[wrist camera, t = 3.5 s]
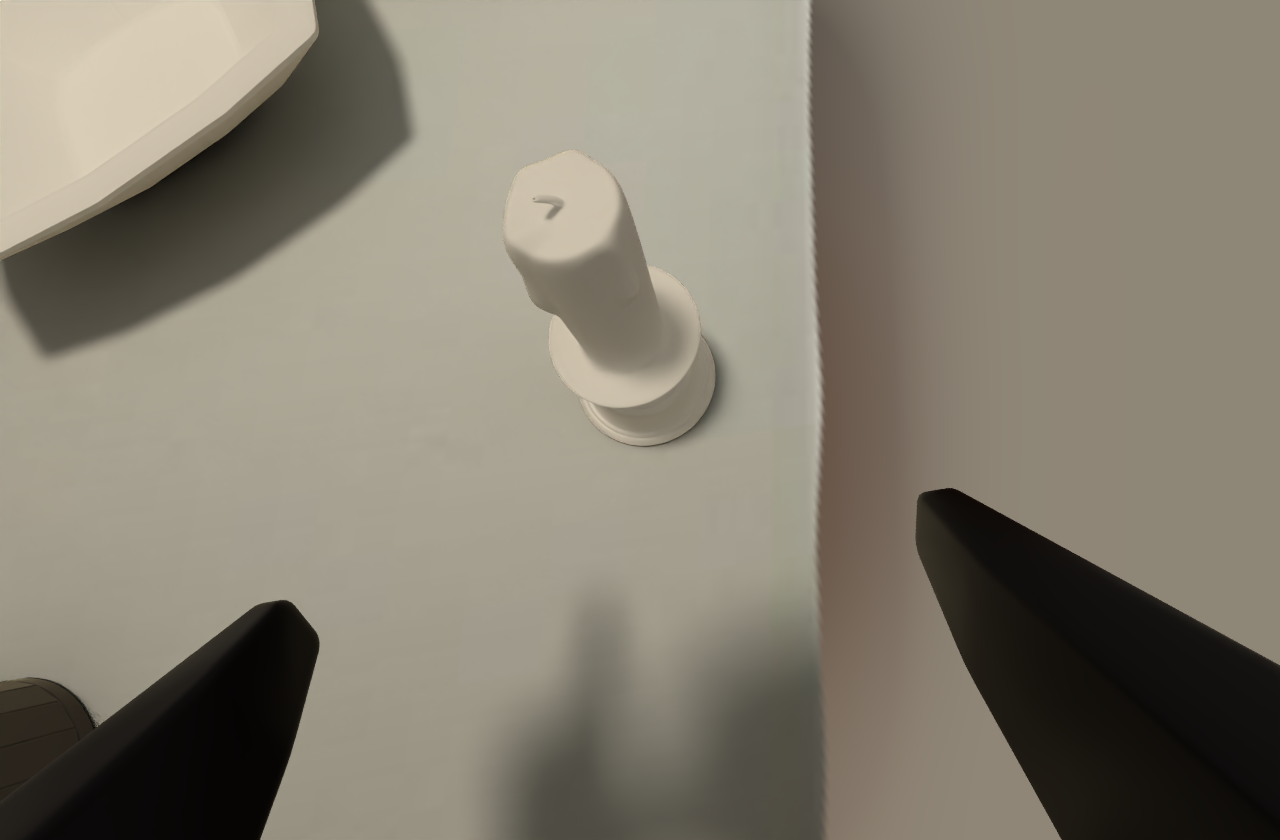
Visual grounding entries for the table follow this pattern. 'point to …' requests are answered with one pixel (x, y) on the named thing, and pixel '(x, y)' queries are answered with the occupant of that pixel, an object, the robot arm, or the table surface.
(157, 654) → the table surface
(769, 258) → the table surface
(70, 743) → the holder
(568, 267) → the candle
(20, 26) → the bowl
